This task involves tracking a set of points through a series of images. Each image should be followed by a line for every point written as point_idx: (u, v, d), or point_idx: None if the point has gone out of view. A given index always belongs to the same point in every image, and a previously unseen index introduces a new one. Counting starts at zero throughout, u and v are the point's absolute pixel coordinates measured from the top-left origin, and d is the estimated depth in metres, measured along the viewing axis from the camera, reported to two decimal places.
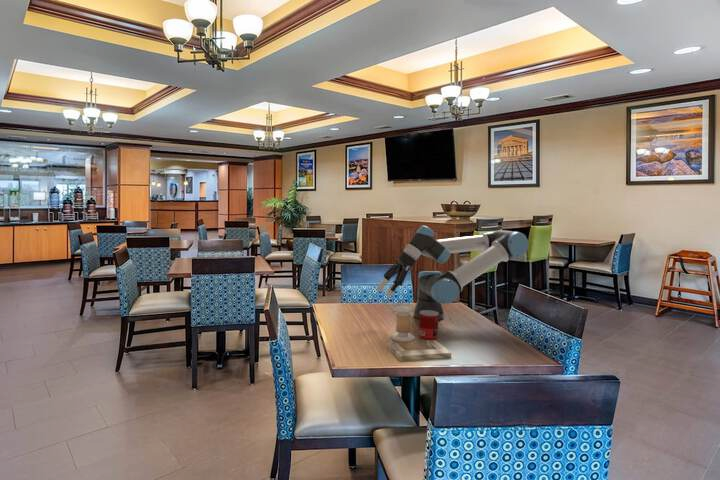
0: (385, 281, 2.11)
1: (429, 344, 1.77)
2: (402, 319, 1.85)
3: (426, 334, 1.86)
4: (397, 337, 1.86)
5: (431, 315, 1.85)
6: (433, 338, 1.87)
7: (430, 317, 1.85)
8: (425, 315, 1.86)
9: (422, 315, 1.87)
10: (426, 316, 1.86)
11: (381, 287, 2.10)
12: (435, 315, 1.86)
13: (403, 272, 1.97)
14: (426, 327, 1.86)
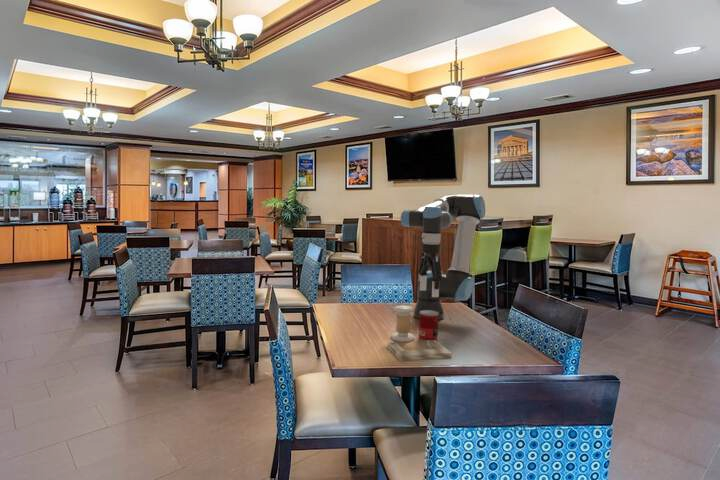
0: (424, 278, 1.94)
1: (429, 344, 1.77)
2: (402, 319, 1.85)
3: (426, 334, 1.86)
4: (397, 337, 1.86)
5: (431, 315, 1.85)
6: (433, 338, 1.87)
7: (430, 317, 1.85)
8: (425, 315, 1.86)
9: (422, 315, 1.87)
10: (426, 316, 1.86)
11: (424, 286, 1.95)
12: (435, 315, 1.86)
13: (436, 265, 1.80)
14: (426, 327, 1.86)
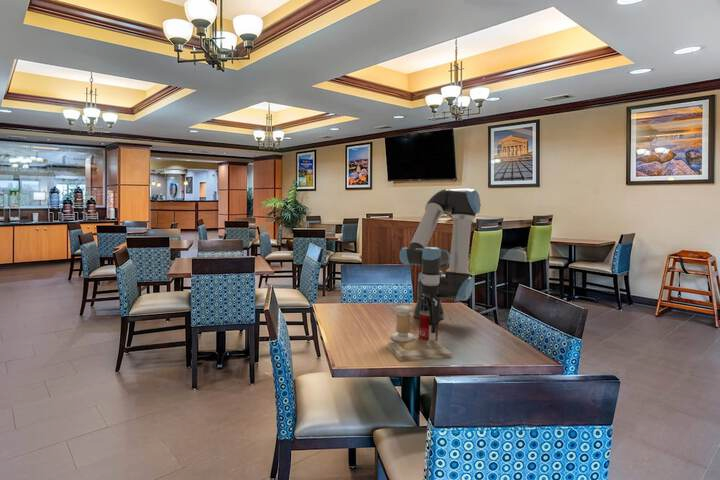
0: None
1: (429, 344, 1.77)
2: (402, 319, 1.85)
3: (426, 334, 1.86)
4: (397, 337, 1.86)
5: None
6: None
7: None
8: (425, 315, 1.86)
9: (422, 315, 1.87)
10: (426, 316, 1.86)
11: None
12: None
13: (434, 310, 1.82)
14: (426, 327, 1.86)
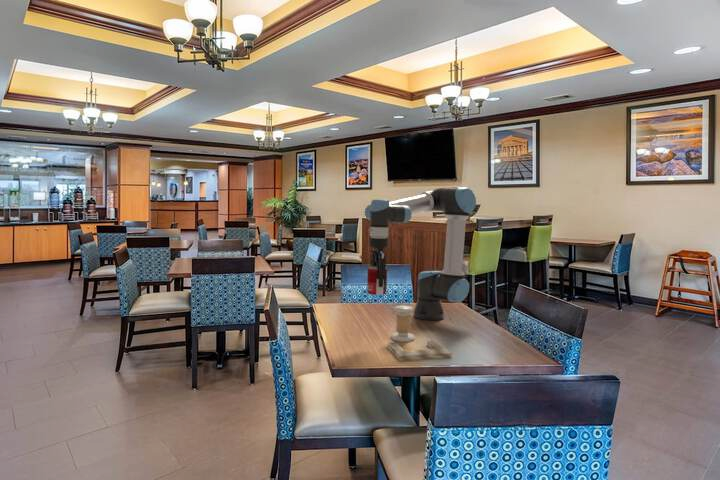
0: None
1: (429, 344, 1.77)
2: (402, 319, 1.85)
3: (374, 289, 1.80)
4: (397, 337, 1.86)
5: None
6: None
7: None
8: (372, 269, 1.80)
9: (370, 269, 1.81)
10: (373, 270, 1.80)
11: None
12: None
13: (381, 263, 1.76)
14: (373, 282, 1.80)
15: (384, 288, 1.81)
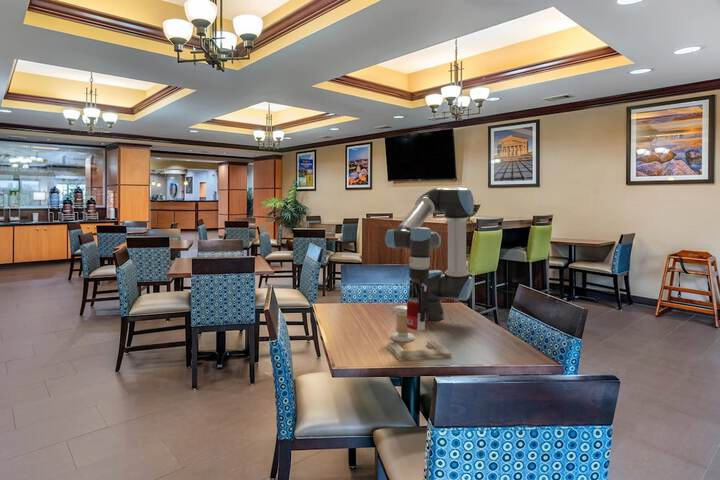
0: None
1: (429, 344, 1.77)
2: (402, 319, 1.85)
3: (414, 323, 1.68)
4: (397, 337, 1.86)
5: None
6: None
7: None
8: (413, 302, 1.68)
9: (410, 302, 1.69)
10: (414, 303, 1.68)
11: None
12: None
13: (423, 296, 1.65)
14: (414, 315, 1.68)
15: (425, 322, 1.70)
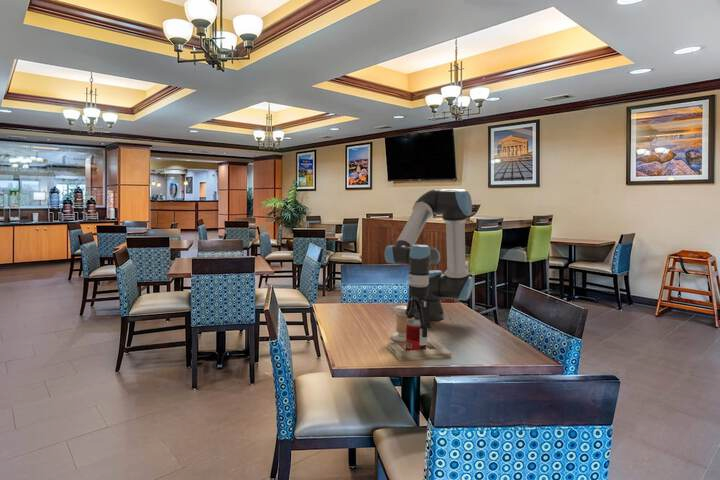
0: None
1: (429, 344, 1.77)
2: (402, 319, 1.85)
3: (414, 347, 1.70)
4: (397, 337, 1.86)
5: (419, 326, 1.69)
6: None
7: (418, 328, 1.69)
8: (412, 326, 1.69)
9: (409, 326, 1.70)
10: (413, 327, 1.69)
11: None
12: None
13: (424, 311, 1.64)
14: (413, 339, 1.69)
15: (424, 346, 1.71)
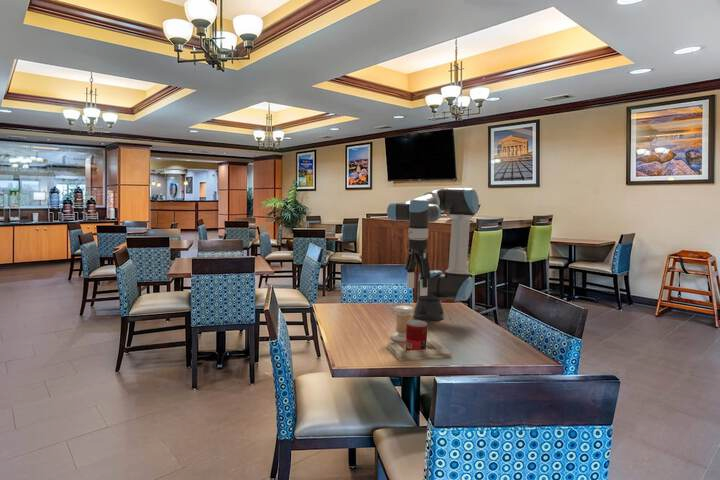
0: (411, 275, 1.84)
1: (429, 344, 1.77)
2: (402, 319, 1.85)
3: (414, 347, 1.70)
4: (397, 337, 1.86)
5: (419, 326, 1.69)
6: None
7: (418, 328, 1.69)
8: (412, 326, 1.69)
9: (409, 326, 1.70)
10: (413, 327, 1.69)
11: (411, 283, 1.85)
12: (423, 326, 1.69)
13: (424, 262, 1.70)
14: (413, 339, 1.69)
15: (424, 346, 1.71)
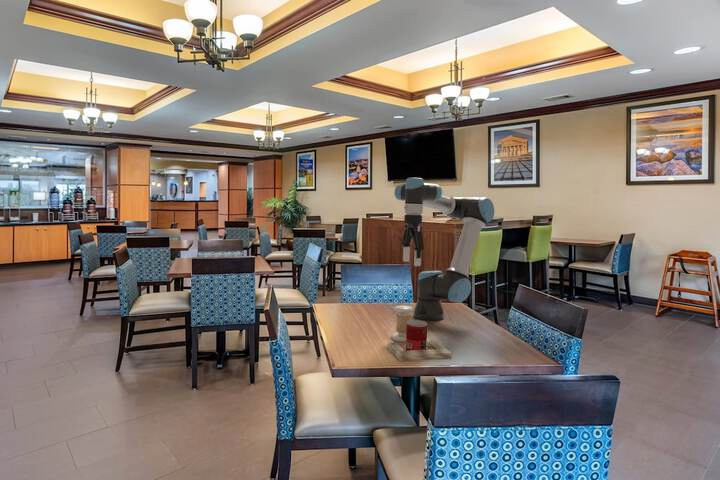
0: (407, 249, 1.98)
1: (429, 344, 1.77)
2: (402, 319, 1.85)
3: (414, 347, 1.70)
4: (397, 337, 1.86)
5: (419, 326, 1.69)
6: None
7: (418, 328, 1.69)
8: (412, 326, 1.69)
9: (409, 326, 1.70)
10: (413, 327, 1.69)
11: (407, 257, 1.99)
12: (423, 326, 1.69)
13: (418, 235, 1.84)
14: (413, 339, 1.69)
15: (424, 346, 1.71)
